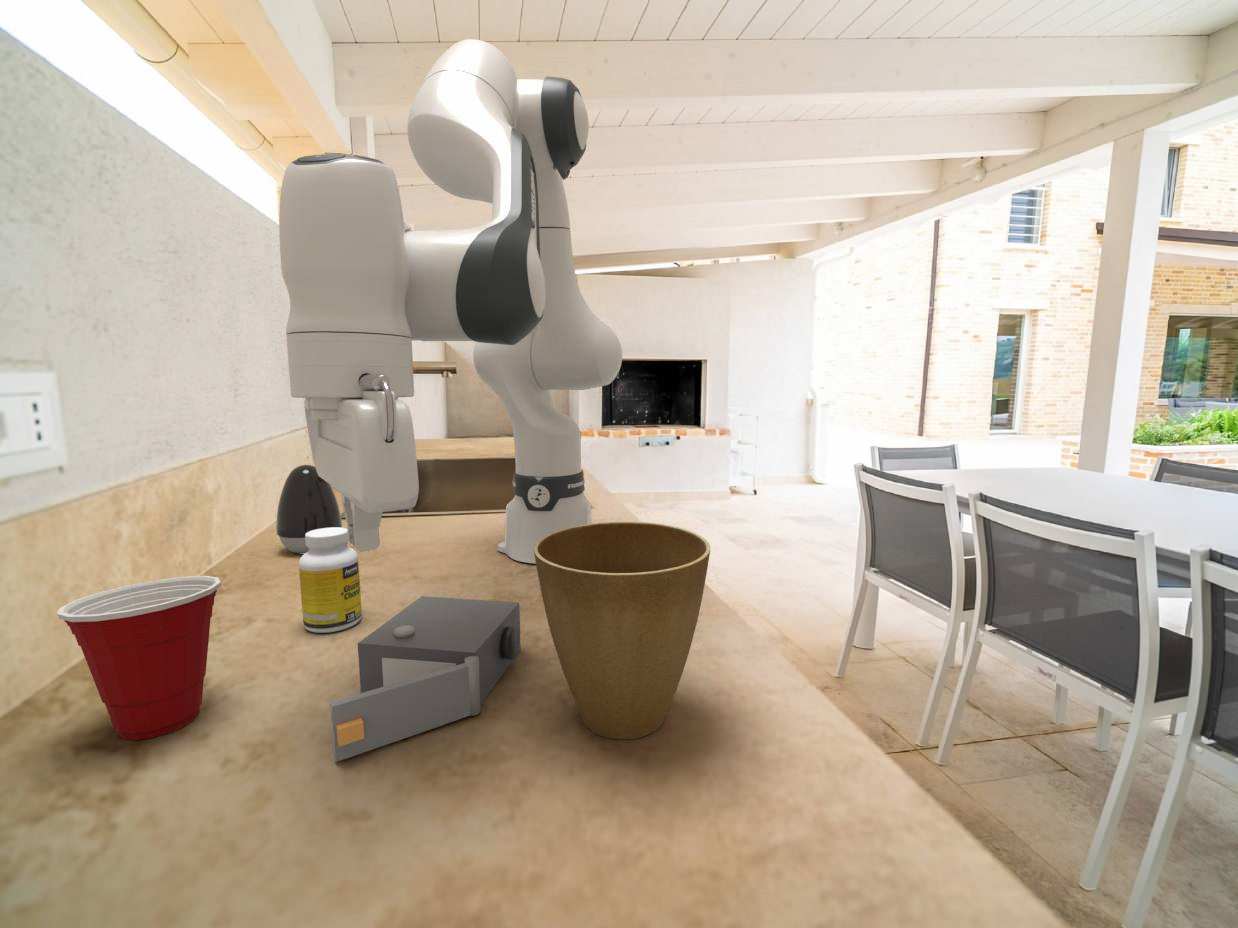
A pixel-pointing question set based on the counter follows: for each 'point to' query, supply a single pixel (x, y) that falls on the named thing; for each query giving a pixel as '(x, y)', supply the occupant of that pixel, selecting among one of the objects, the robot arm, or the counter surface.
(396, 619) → the box
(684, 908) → the counter surface
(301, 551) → the pump dispenser
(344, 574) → the pill bottle
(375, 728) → the side door
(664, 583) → the plant pot
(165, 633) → the plastic cup
